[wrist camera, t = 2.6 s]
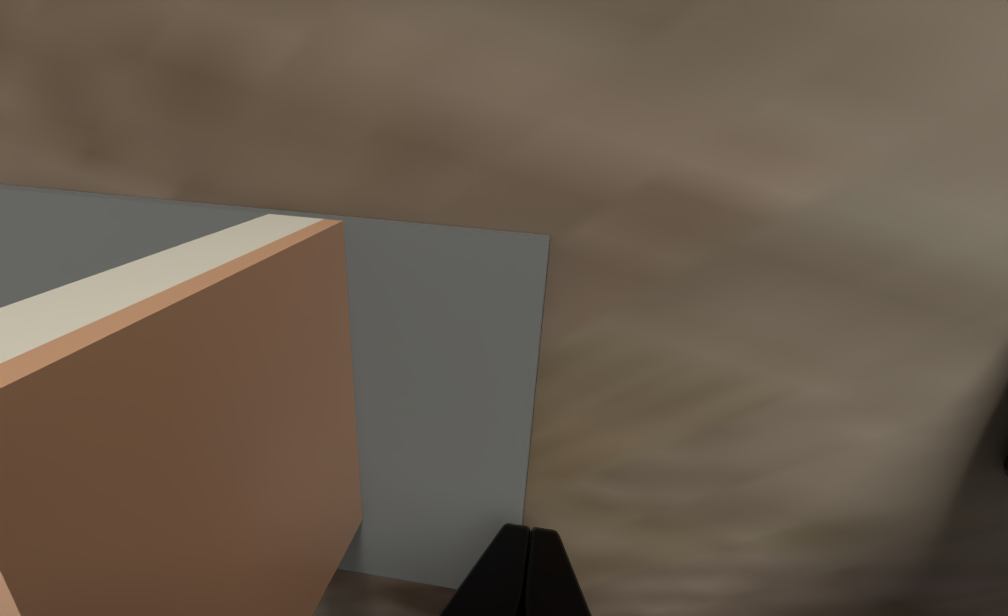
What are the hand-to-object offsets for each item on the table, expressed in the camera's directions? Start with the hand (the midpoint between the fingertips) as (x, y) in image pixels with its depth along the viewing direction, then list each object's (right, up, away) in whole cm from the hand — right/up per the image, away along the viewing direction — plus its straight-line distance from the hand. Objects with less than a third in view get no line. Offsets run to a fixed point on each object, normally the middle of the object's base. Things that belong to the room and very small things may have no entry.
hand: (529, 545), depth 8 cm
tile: (-5, +2, +4) cm, 6 cm away
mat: (-7, +1, +5) cm, 8 cm away
